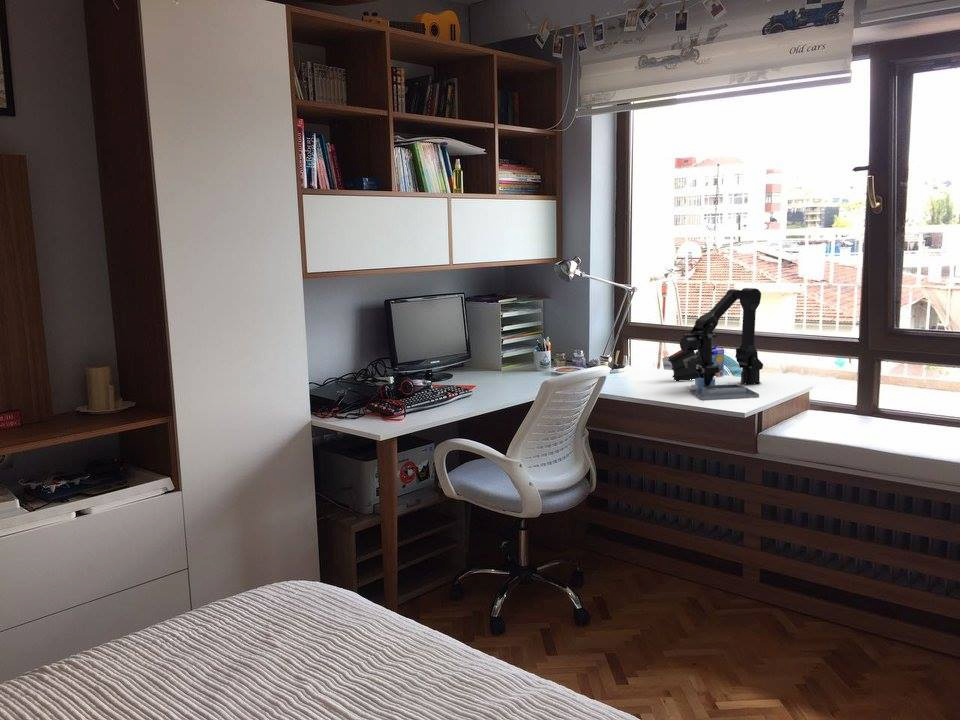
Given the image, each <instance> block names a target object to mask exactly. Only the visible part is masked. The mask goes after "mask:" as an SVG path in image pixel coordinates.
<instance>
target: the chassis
mask: <svg viewBox="0 0 960 720" xmlns="http://www.w3.org/2000/svg"><path fill="white" fill-rule="evenodd" d="M690 392H691V393H690ZM689 393H690V394H691V395H693V394H694V395H693V396H695V395H696V396H697V397H696V396H695V397H696V398H698V399H700V400H701V401H710V400H711V401H712V400H713V401H714V400H715V401H716V400H731V399H732V400H733V399H747V398H748V399H749V397H753V398H760V393H759V392H758V393H757V392H755V391H753V390H751V389H749V388H747V387H745V386H744V385H741V384H740V383H728V384H727V383H726V384H715V385H705V386H702V389H691V388H690V389H689Z"/></svg>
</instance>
